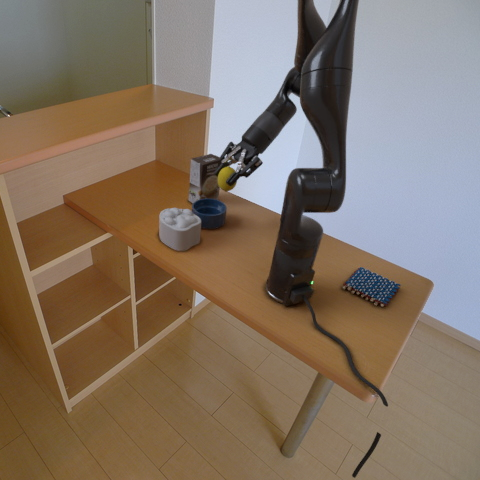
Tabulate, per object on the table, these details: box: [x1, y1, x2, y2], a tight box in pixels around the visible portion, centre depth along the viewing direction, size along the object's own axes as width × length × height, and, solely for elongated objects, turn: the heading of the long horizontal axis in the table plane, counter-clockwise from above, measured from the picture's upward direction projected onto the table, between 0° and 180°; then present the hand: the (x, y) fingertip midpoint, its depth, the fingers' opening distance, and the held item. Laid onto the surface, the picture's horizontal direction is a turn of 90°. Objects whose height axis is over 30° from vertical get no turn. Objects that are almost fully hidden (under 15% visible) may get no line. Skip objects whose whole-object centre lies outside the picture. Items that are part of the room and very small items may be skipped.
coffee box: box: [188, 153, 222, 204], centre depth 125 cm, size 9×6×16 cm
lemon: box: [218, 165, 238, 193], centre depth 104 cm, size 6×6×8 cm
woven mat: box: [342, 266, 402, 308], centre depth 91 cm, size 10×11×2 cm
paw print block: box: [158, 207, 202, 252], centre depth 109 cm, size 10×13×9 cm
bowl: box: [191, 198, 228, 230], centre depth 117 cm, size 11×11×6 cm
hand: (222, 179), depth 103 cm, fingers closed on lemon, 5 cm apart
